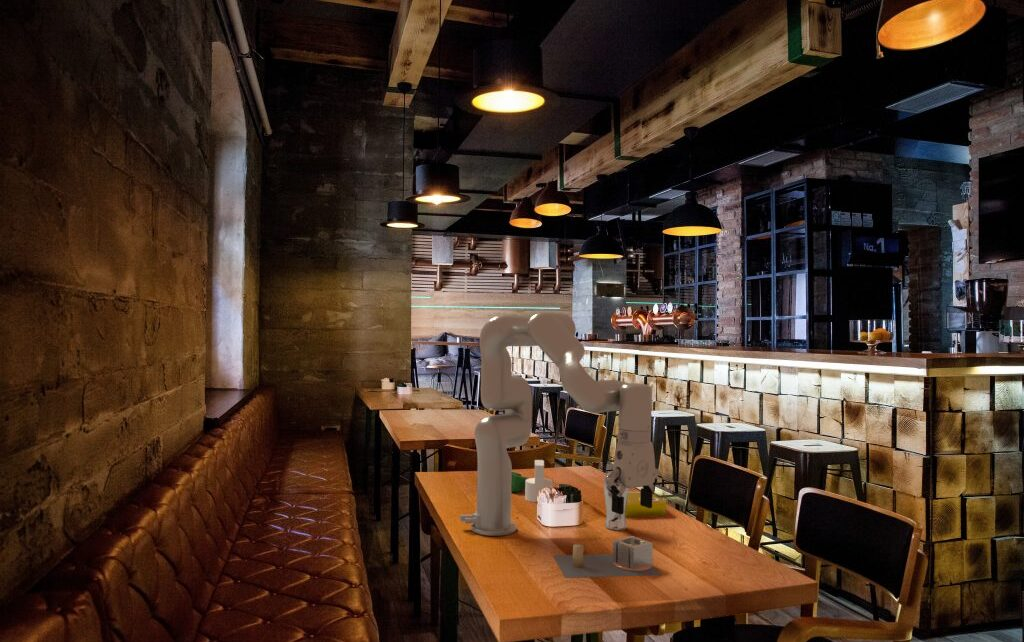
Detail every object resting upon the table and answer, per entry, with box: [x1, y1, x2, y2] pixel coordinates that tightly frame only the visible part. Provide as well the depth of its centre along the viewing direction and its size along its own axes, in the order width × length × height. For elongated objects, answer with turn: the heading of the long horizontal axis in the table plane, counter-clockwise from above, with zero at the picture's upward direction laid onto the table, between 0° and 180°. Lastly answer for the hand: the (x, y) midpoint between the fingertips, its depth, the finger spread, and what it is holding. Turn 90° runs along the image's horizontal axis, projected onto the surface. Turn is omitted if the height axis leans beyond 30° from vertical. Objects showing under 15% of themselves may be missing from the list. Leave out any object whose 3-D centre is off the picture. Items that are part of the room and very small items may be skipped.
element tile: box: [625, 491, 667, 518], centre depth 202 cm, size 15×15×5 cm
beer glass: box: [603, 471, 630, 531], centre depth 183 cm, size 7×7×15 cm
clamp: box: [511, 471, 529, 493], centre depth 225 cm, size 12×6×9 cm, turn 19°
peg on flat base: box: [613, 543, 653, 571], centre depth 150 cm, size 9×9×4 cm
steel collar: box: [612, 535, 654, 570], centre depth 150 cm, size 6×6×5 cm
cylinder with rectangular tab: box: [524, 459, 554, 503], centre depth 213 cm, size 9×9×12 cm
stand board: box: [553, 543, 662, 579], centre depth 149 cm, size 22×14×6 cm, turn 97°
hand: (632, 509), depth 150 cm, fingers open, 9 cm apart
